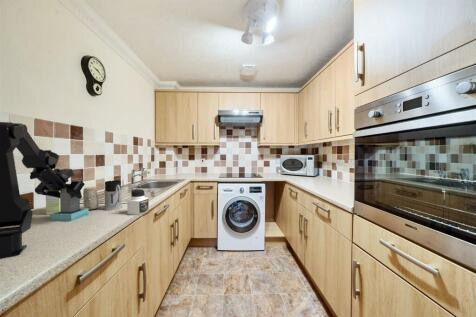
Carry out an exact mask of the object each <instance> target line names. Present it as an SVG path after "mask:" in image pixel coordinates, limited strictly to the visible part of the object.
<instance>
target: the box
mask: <svg viewBox="0 0 476 317" xmlns="http://www.w3.org/2000/svg"><path fill="white" fill-rule="evenodd" d="M59 192H60V191H59ZM56 212H60V198H56V197H51V196H46V195H45V216H46V215H50V216H51V214H53V213H56Z"/></svg>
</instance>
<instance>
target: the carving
mask: <svg viewBox="0 0 476 317" xmlns="http://www.w3.org/2000/svg"><path fill="white" fill-rule="evenodd" d="M82 191H83V192H82V198H83V201H82V204H83V209H88V211H90V210H96V209H99V197H98V196H99V195H98V188H97V187H96V186H90V187H84V188H83V190H82Z"/></svg>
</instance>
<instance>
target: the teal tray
mask: <svg viewBox="0 0 476 317" xmlns="http://www.w3.org/2000/svg"><path fill="white" fill-rule="evenodd" d="M88 215H89V210H88V209H84V208H80V211H78V212H75V213H73V214H60V212H56V213H53V214H50V221H51V222H73V221H75V220H78V219H81V218H83V217H87V216H88Z"/></svg>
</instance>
